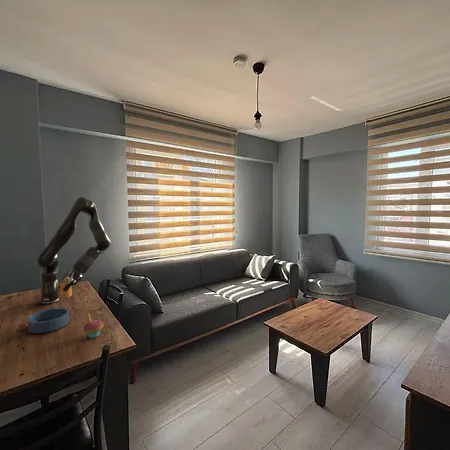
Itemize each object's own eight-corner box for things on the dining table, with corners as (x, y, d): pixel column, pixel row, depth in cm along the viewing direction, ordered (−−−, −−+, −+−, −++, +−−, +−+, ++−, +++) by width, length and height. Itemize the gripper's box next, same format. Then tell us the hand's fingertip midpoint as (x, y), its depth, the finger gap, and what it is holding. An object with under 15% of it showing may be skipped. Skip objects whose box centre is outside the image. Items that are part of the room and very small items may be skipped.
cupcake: (83, 341, 114) (82, 316, 114) (84, 333, 122) (83, 310, 121) (104, 337, 118) (102, 313, 117) (103, 329, 126) (102, 306, 125)
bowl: (37, 320, 136) (36, 309, 135) (73, 316, 141) (73, 306, 140) (20, 336, 119) (20, 324, 118) (62, 331, 124) (61, 320, 123)
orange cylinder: (62, 294, 136) (61, 280, 136) (73, 293, 138) (72, 280, 137) (59, 298, 131) (58, 283, 131) (70, 297, 133) (69, 282, 132)
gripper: (95, 268, 140) (73, 295, 131) (83, 265, 148) (61, 290, 139) (85, 261, 135) (62, 288, 126) (73, 258, 143) (50, 283, 134)
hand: (62, 289), depth 133 cm, fingers closed on orange cylinder, 5 cm apart
